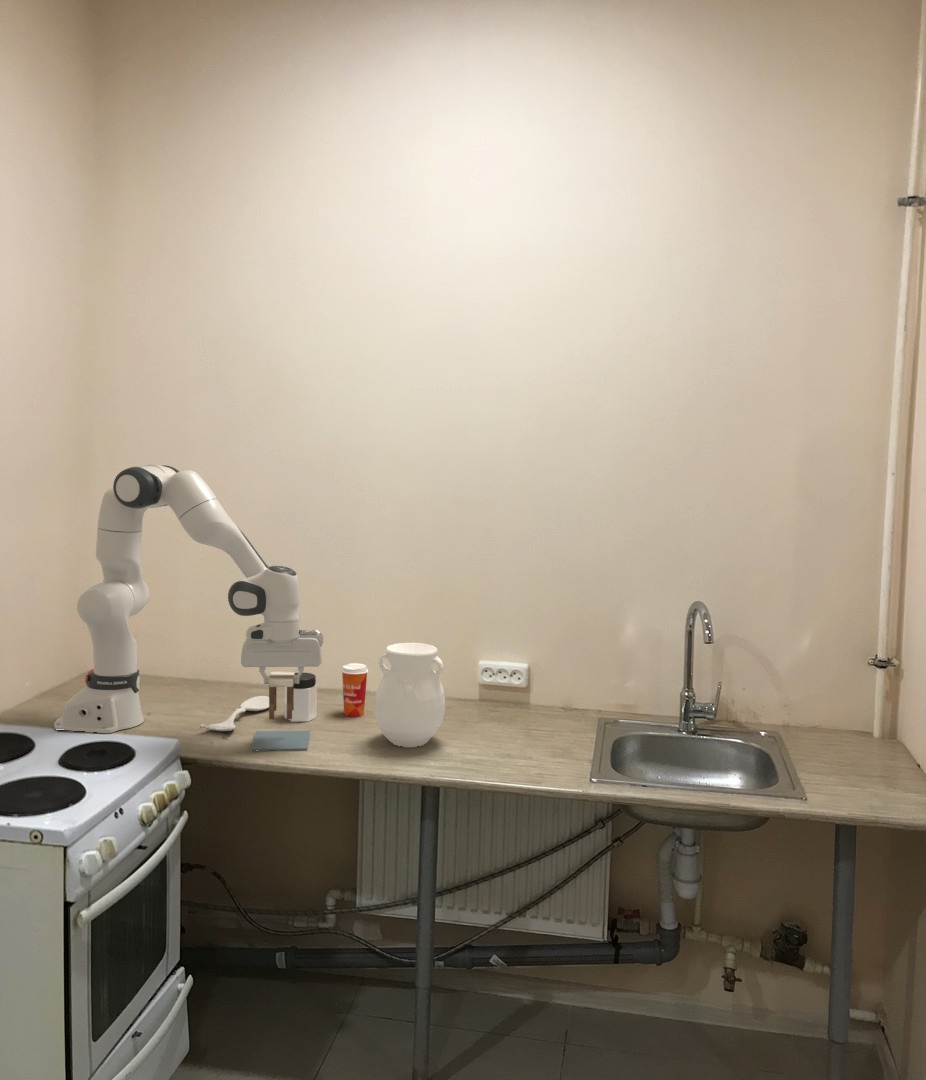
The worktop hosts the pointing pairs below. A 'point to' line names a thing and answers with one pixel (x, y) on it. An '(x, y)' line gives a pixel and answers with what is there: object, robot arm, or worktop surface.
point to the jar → (303, 699)
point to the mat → (280, 740)
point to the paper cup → (354, 689)
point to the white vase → (410, 694)
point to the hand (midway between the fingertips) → (281, 683)
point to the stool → (276, 681)
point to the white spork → (250, 705)
